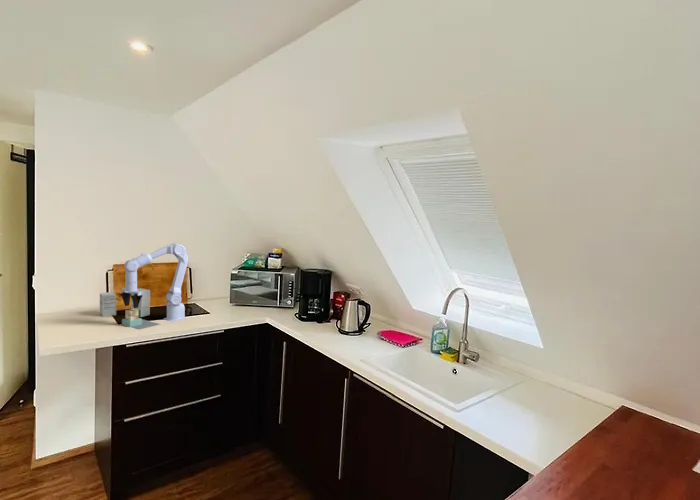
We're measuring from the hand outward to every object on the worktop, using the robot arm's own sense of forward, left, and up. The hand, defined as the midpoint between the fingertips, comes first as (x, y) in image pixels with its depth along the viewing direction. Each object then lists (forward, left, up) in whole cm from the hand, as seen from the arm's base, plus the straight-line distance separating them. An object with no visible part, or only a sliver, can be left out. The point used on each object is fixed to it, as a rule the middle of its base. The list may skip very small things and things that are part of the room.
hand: (131, 306), depth 230 cm
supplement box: (-4, -28, -10) cm, 31 cm away
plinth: (+1, +2, -10) cm, 10 cm away
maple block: (+1, +2, -6) cm, 7 cm away
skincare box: (-14, -12, -10) cm, 22 cm away
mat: (-2, +5, -10) cm, 11 cm away
